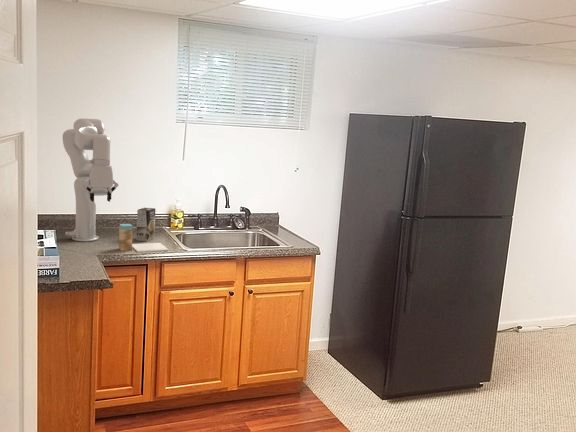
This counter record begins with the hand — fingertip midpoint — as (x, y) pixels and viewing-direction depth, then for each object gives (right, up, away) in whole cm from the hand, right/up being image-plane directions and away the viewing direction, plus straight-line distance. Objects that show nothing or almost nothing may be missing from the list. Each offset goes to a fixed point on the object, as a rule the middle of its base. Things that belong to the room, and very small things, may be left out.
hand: (100, 200), depth 273 cm
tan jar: (+9, -23, +10) cm, 27 cm away
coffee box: (+13, -19, +33) cm, 41 cm away
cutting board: (+19, -23, +15) cm, 33 cm away
